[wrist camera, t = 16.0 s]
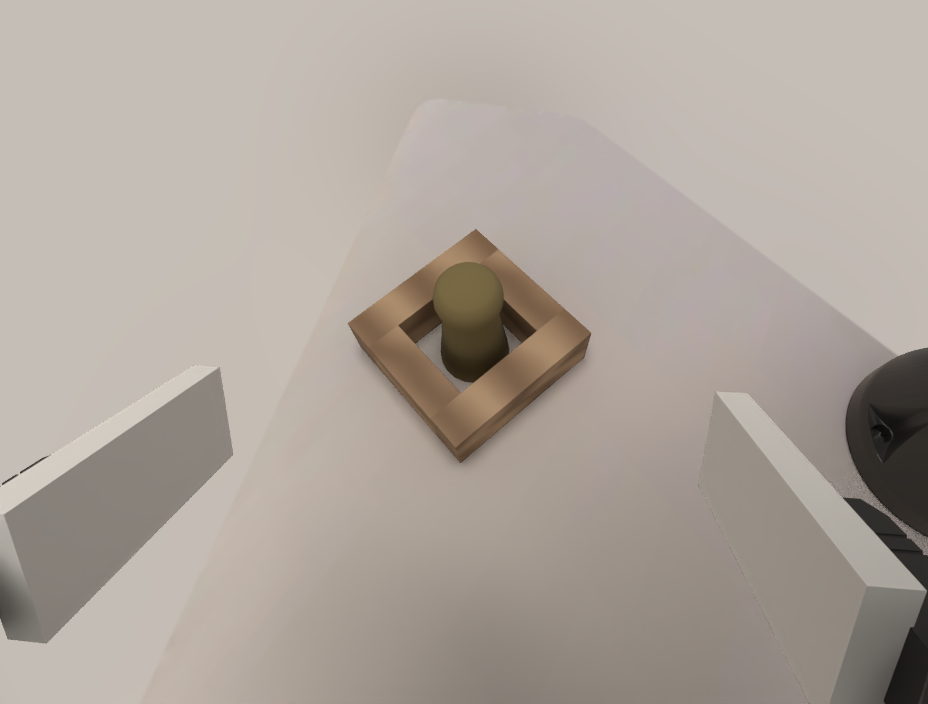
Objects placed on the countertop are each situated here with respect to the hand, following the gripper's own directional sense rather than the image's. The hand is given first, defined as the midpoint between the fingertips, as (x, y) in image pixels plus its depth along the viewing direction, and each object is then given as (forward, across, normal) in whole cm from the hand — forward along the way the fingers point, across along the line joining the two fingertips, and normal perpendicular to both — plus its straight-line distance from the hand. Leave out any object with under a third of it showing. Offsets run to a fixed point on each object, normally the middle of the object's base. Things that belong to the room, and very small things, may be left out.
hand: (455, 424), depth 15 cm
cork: (+32, -2, -10) cm, 34 cm away
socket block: (+32, -3, -10) cm, 34 cm away
